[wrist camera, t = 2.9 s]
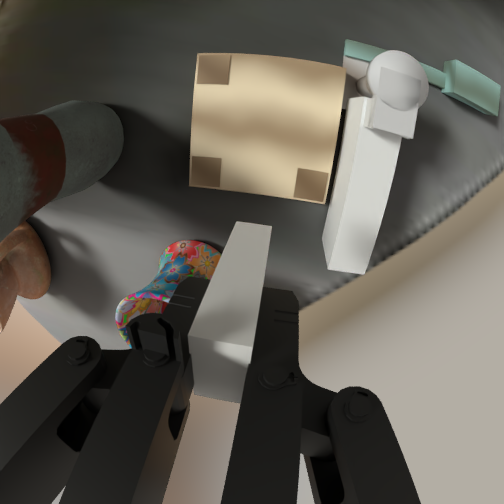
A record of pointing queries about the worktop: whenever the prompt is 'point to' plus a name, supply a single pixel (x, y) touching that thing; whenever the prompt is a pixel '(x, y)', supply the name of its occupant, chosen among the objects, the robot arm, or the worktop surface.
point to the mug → (168, 280)
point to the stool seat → (291, 117)
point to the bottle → (54, 156)
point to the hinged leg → (371, 157)
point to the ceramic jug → (22, 269)
